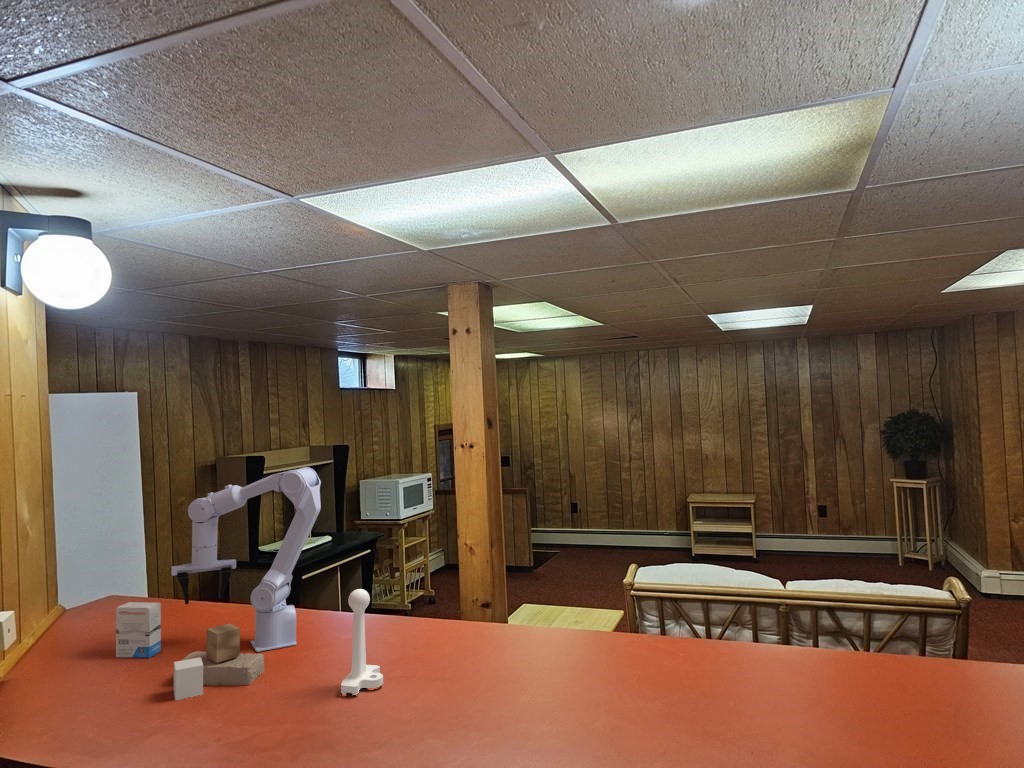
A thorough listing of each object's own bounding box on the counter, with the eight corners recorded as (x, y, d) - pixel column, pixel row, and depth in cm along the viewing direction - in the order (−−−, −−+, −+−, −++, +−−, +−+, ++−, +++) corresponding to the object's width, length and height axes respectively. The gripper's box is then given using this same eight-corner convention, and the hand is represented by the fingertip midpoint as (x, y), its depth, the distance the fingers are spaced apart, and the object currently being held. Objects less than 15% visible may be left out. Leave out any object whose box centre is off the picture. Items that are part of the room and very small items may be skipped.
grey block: (200, 686, 138) (200, 657, 138) (202, 695, 133) (203, 665, 134) (173, 691, 135) (173, 662, 135) (175, 700, 131) (175, 670, 131)
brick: (265, 671, 146) (266, 650, 146) (250, 687, 138) (250, 664, 138) (192, 672, 146) (192, 650, 146) (172, 687, 138) (172, 665, 138)
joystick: (361, 674, 143) (361, 581, 144) (393, 677, 142) (393, 583, 142) (335, 695, 133) (336, 595, 133) (370, 699, 131) (370, 598, 132)
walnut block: (228, 650, 146) (229, 623, 146) (239, 656, 143) (240, 628, 143) (206, 657, 142) (206, 628, 143) (216, 662, 139) (217, 634, 139)
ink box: (162, 651, 158) (162, 601, 158) (148, 659, 153) (149, 607, 153) (128, 650, 159) (129, 600, 159) (114, 657, 154) (115, 606, 154)
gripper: (233, 540, 171) (232, 592, 171) (170, 546, 164) (169, 601, 163) (237, 544, 165) (237, 599, 164) (173, 551, 158) (172, 608, 157)
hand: (203, 600), depth 163 cm, fingers open, 7 cm apart
